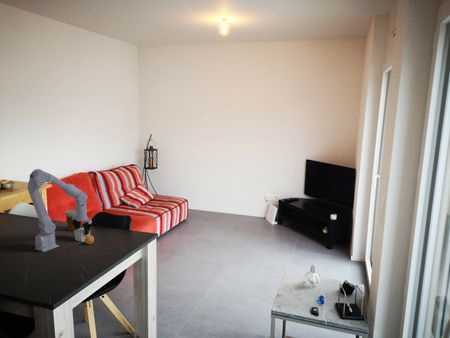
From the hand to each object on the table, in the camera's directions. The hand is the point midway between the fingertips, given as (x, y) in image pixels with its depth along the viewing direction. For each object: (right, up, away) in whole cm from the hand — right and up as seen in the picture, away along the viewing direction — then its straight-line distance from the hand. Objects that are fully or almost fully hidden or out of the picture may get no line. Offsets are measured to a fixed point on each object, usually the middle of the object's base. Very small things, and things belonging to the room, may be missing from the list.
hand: (82, 233), depth 205 cm
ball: (+7, -3, -6) cm, 9 cm away
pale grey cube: (0, -4, +1) cm, 4 cm away
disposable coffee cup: (-12, -1, +16) cm, 20 cm away
